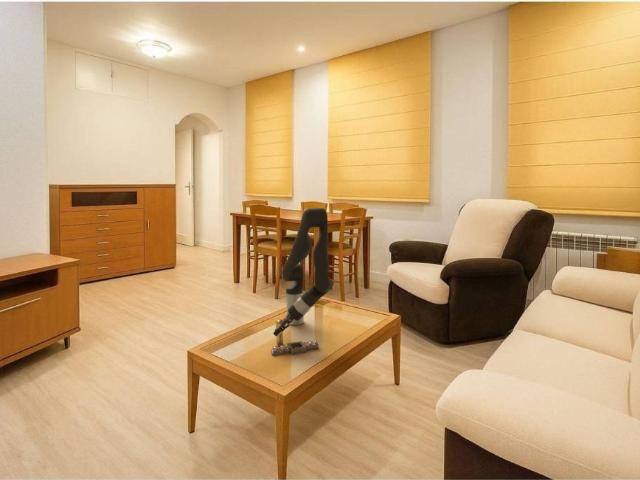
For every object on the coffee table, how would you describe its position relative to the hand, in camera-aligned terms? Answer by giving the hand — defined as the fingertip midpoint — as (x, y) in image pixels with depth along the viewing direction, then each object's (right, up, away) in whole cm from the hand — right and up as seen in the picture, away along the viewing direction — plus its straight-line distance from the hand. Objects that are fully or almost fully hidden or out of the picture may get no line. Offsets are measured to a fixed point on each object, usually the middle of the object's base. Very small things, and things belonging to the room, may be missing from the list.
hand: (275, 333), depth 184 cm
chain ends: (+10, -6, -6) cm, 14 cm away
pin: (+2, -6, +1) cm, 6 cm away
